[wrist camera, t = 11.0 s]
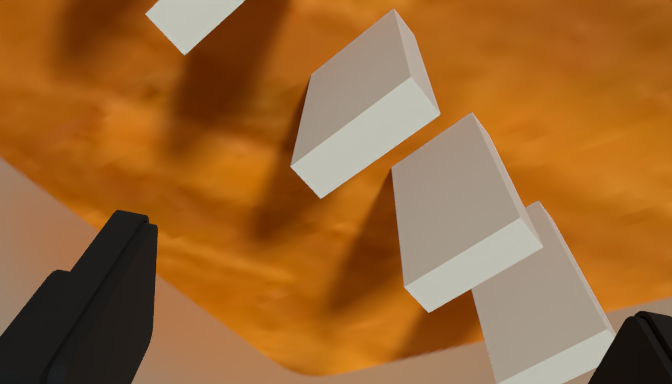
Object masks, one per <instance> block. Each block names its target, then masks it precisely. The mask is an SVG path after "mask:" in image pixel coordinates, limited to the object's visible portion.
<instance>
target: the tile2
mask: <svg viewBox="0 0 672 384" xmlns="http://www.w3.org/2000/svg"><path fill="white" fill-rule="evenodd" d="M391 169H392V178H393V187H394V197H395V206H396V215H397V224H398V234H399V243H400V252H401V261H402V271H403V280H404V287H405V288H406V289H407V291H408V292H409V293H410V294H411V295H412V296H413V297H414V298H415V299H416V300H417V301H418V302H419V303H420V304H421V305H422V306H423V307H424V308H425V310H426V311H427V312H428V313H430V312H431V311H433V310H435V309H437V308H438V307H440V306H442V305H444V304H445V303H447V302H449V301H451V300H452V299H454V298H456V297H458V296H459V295H461V294H463V293H464V292H466V291H468V290H470V289H471V288H473V287H475V286H477V285H478V284H480V283H482V282H484V281H485V280H487V279H489V278H491V277H492V276H494V275H496V274H498V273H499V272H501V271H503V270H505V269H506V268H508V267H510V266H512V265H513V264H515V263H517V262H519V261H520V260H522V259H524V258H526V257H527V256H529V255H531V254H533V253H534V252H536V251H538V250H540V249H541V248H543V245H542V243H541V241H540V239H539V237H538V235H537V233H536V230H535V228H534V226H533V224H532V222H531V220H530V218H529V216H528V214H527V212H526V210H525V208H524V206H523V204H522V202H521V200H520V197H519V195H518V193H517V191H516V189H515V187H514V185H513V183H512V181H511V179H510V177H509V175H508V173H507V171H506V169H505V167H504V165H503V162H502V160H501V158H500V156H499V154H498V152H497V150H496V148H495V146H494V144H493V142H492V140H491V138H490V136H489V134H488V133H487V131H486V130H485V129H484V127H483V126H482V125H481V123H480V122H479V121H478V119H477V118H476V117H475V115H474V114H473V113H472V112H471V113H469V114H468V115H466V116H465V117H464V118H462V119H461V120H459V121H458V122H456V123H455V124H453V125H452V126H451V127H449V128H448V129H446V130H445V131H443V132H442V133H440V134H439V135H438V136H436V137H435V138H433V139H432V140H430V141H429V142H427V143H426V144H425V145H423V146H422V147H420V148H419V149H417V150H416V151H414V152H413V153H412V154H410V155H409V156H407V157H406V158H404V159H403V160H401V161H400V162H398V163H397V164H396V165H394V166H393V167H391Z"/></svg>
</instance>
